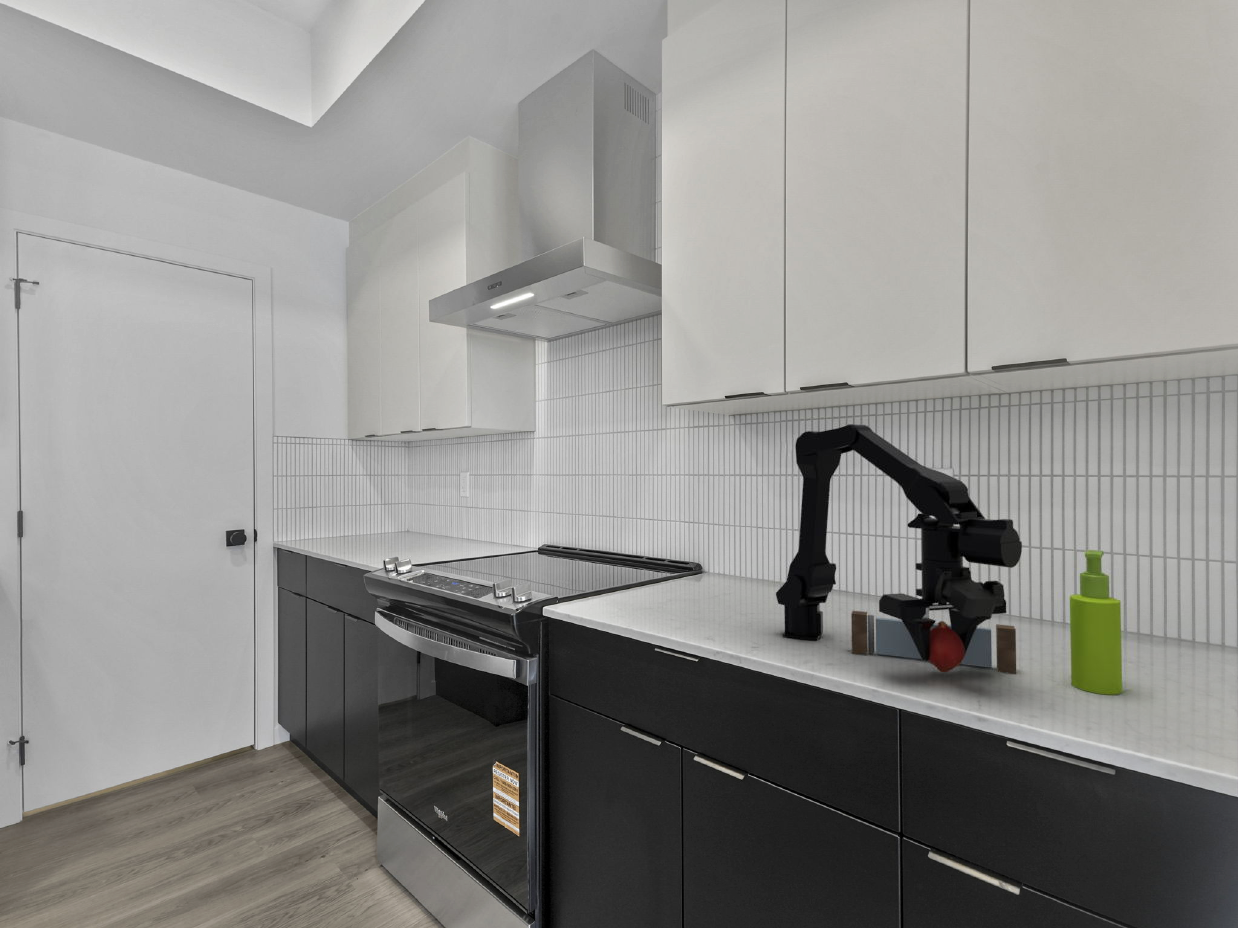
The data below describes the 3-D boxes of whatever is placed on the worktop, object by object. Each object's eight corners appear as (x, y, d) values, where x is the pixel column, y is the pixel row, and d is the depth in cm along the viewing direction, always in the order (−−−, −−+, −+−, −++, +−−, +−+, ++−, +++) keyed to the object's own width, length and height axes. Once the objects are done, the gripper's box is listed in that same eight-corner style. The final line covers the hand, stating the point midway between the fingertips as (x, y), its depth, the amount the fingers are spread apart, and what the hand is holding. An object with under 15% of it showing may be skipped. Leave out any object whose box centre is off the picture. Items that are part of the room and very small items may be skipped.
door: (868, 652, 105) (867, 615, 105) (868, 650, 106) (868, 614, 106) (991, 667, 97) (991, 627, 97) (991, 664, 98) (990, 625, 98)
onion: (927, 663, 98) (927, 614, 98) (967, 671, 94) (967, 619, 94) (918, 673, 93) (918, 621, 93) (960, 681, 89) (960, 627, 89)
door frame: (851, 654, 105) (851, 614, 106) (853, 649, 108) (852, 610, 108) (1016, 673, 94) (1015, 629, 95) (1013, 668, 97) (1013, 625, 97)
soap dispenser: (1123, 684, 90) (1120, 550, 90) (1121, 698, 84) (1118, 555, 85) (1074, 675, 93) (1071, 547, 94) (1069, 688, 88) (1066, 552, 88)
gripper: (926, 570, 84) (927, 681, 84) (1037, 564, 88) (1038, 671, 88) (876, 558, 95) (877, 657, 95) (977, 553, 99) (978, 648, 99)
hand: (942, 658), depth 94 cm, fingers closed on onion, 6 cm apart
